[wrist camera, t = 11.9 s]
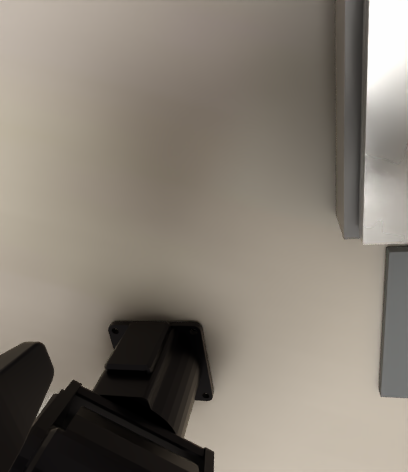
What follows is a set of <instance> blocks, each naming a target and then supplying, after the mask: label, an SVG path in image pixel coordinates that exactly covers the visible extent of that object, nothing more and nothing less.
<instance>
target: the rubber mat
mask: <svg viewBox="0 0 408 472" xmlns="http://www.w3.org/2000/svg"><path fill="white" fill-rule="evenodd" d="M379 392H380V395H381V397H394V398H408V246H404V247H387V249H386V267H385V285H384V303H383V321H382V340H381V358H380V376H379Z"/></svg>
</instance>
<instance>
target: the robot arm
mask: <svg viewBox="0 0 408 472" xmlns="http://www.w3.org/2000/svg"><path fill="white" fill-rule="evenodd" d="M115 328H116V329H118V330H116V329H115ZM192 329H195V330H196V331H193V330H192ZM108 331H109V334H110V338H111V341H112V344H113V348H114V351H113V352H112V354H111V356H110V357H109V359H108V361H107V362H106V364H105V370H104V372H103V373H102V375H101V377H100V379H99V380H98V382H97V384H96V385H95V387H94V389H93V390H92V391H90V390H89V389H87V388H85V387H83V386H81V385H82V384H81V383H79V382H77V381H75V380H72V382H71V383H70V384H69V385H68V387H67V388H66V389H65V390H63V389H62V390H61V391H60V392H59V394H53V396H52V397H51V398H50V400H49V401H48V403H47V404H46V406H45V407H44V408H43V410H42V411H41V413H40V414H39V415H38V416H37V414H38V412H39V409H40V407H41V405H42V402H43V400H44V398H45V396H46V393H47V391H48V389H49V386H50V384H51V382H52V379H53V376H54V368H53V365H52V362H51V360H50V357H49V355H48V352H47V350H46V347H45V345H44V344H43V343H41V342H24V343H22V344H20V345H18V346H16V347H14V348H12V349H11V350H9V351H7V352H5V353H3V354H1V355H0V472H214V451H212V450H210V449H208V448H206V447H205V448H202V447H200V446H198V445H196V444H194V443H192V442H190V441H188V440H186V439H184V436H185V432H186V428H187V425H188V421H189V418H190V414H191V410H192V407H193V403H194V400H200V401H210V400H211V399H212V398H213V394H214V391H213V385H212V379H211V374H210V368H209V363H208V357H207V352H206V346H205V341H204V335H203V330H202V327H201V325H200V324H199V323H197V322H157V321H115V322H112V323H111V325H110V326H109V328H108ZM206 393H207V394H206ZM36 416H37V418H36ZM35 418H36V419H35Z"/></svg>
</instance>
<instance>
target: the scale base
mask: <svg viewBox="0 0 408 472" xmlns="http://www.w3.org/2000/svg"><path fill="white" fill-rule="evenodd" d="M363 7H364V0H335V79H336V216H337V219H338V222H339V225H340V229H341V232H342V235H343V238H344V239H359V238H360V237H359V193H360V147H361V100H362V54H363Z"/></svg>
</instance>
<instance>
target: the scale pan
mask: <svg viewBox="0 0 408 472" xmlns="http://www.w3.org/2000/svg"><path fill="white" fill-rule="evenodd" d="M359 237H360V239H361V242H362V244H363V245H379V244H404V243H408V0H364V7H363V54H362V100H361V147H360V193H359Z"/></svg>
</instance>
